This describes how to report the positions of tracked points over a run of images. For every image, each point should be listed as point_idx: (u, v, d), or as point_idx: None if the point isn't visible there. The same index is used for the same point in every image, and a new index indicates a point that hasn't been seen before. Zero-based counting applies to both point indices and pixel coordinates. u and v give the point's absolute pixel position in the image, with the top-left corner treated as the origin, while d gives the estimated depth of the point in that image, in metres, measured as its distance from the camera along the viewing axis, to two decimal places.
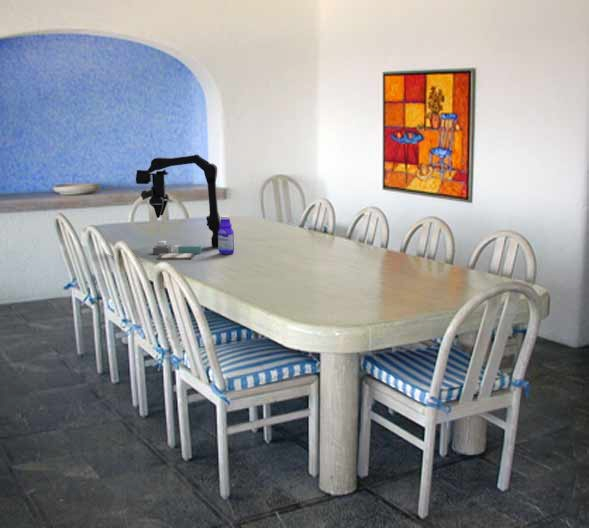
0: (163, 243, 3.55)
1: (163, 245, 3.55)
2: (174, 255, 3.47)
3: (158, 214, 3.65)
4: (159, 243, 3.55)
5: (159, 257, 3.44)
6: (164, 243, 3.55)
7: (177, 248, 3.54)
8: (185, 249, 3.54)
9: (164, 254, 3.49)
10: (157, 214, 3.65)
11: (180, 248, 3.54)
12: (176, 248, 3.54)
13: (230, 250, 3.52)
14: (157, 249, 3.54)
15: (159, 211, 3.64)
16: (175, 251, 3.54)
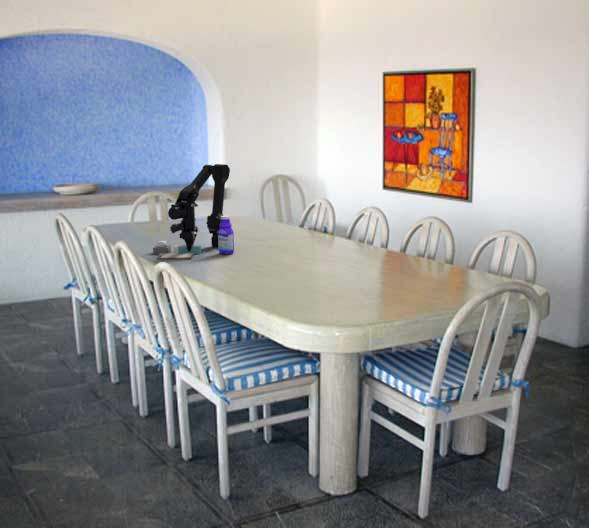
0: (163, 243, 3.55)
1: (163, 245, 3.55)
2: (174, 255, 3.47)
3: (189, 248, 3.53)
4: (159, 243, 3.55)
5: (159, 257, 3.44)
6: (164, 243, 3.55)
7: (177, 248, 3.54)
8: (185, 249, 3.54)
9: (164, 254, 3.49)
10: (188, 247, 3.53)
11: (180, 248, 3.54)
12: (176, 248, 3.54)
13: (230, 250, 3.52)
14: (157, 249, 3.54)
15: (190, 244, 3.52)
16: (175, 251, 3.54)
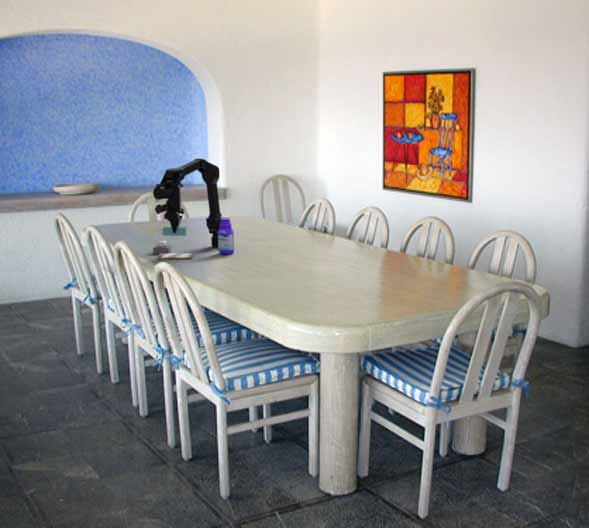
0: (163, 243, 3.55)
1: (163, 245, 3.55)
2: (174, 255, 3.47)
3: (175, 229, 3.42)
4: (159, 243, 3.55)
5: (159, 257, 3.44)
6: (164, 243, 3.55)
7: (162, 229, 3.43)
8: (170, 230, 3.43)
9: (164, 254, 3.49)
10: (173, 229, 3.42)
11: (165, 229, 3.43)
12: (161, 229, 3.43)
13: (230, 250, 3.52)
14: (157, 249, 3.54)
15: (175, 226, 3.42)
16: (160, 232, 3.44)
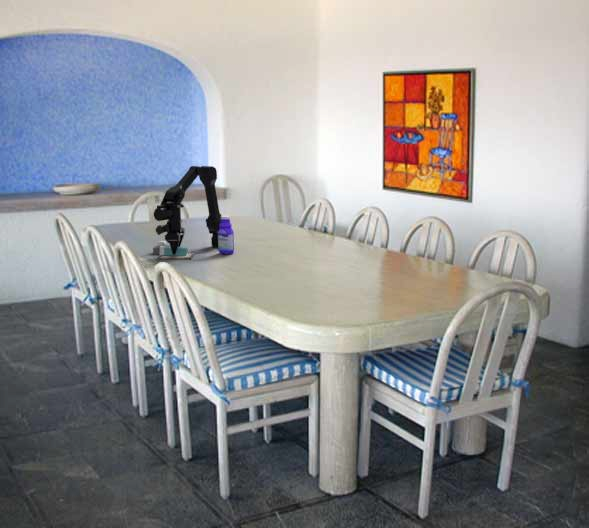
0: (163, 243, 3.55)
1: (163, 245, 3.55)
2: (174, 255, 3.47)
3: (174, 251, 3.42)
4: (159, 243, 3.55)
5: (159, 257, 3.44)
6: (164, 243, 3.55)
7: (163, 249, 3.45)
8: (171, 250, 3.45)
9: None
10: (173, 250, 3.42)
11: (166, 249, 3.45)
12: (162, 249, 3.45)
13: (230, 250, 3.52)
14: (157, 249, 3.54)
15: (175, 247, 3.41)
16: (161, 252, 3.45)
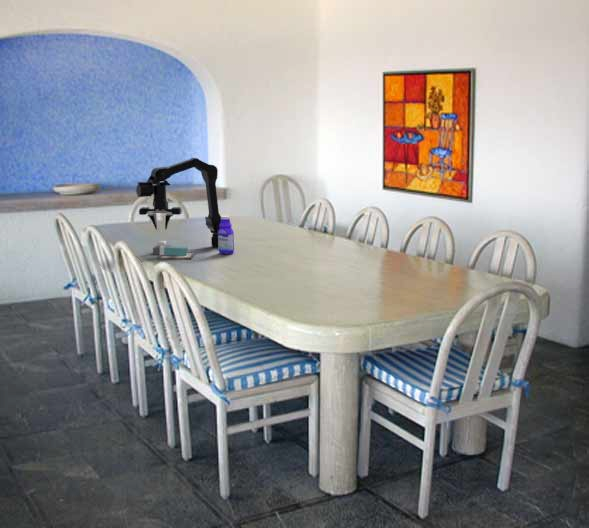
0: (163, 243, 3.55)
1: (163, 245, 3.55)
2: (174, 255, 3.47)
3: None
4: (159, 243, 3.55)
5: (159, 257, 3.44)
6: (164, 243, 3.55)
7: (163, 249, 3.45)
8: (171, 250, 3.45)
9: None
10: None
11: (166, 249, 3.45)
12: (162, 249, 3.45)
13: (230, 250, 3.52)
14: (157, 249, 3.54)
15: None
16: (161, 252, 3.45)
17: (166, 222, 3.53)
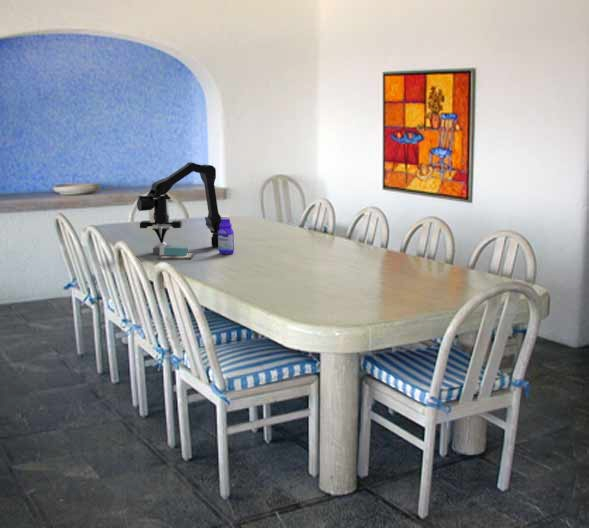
0: (163, 244, 3.55)
1: None
2: (174, 255, 3.47)
3: None
4: (159, 244, 3.55)
5: (159, 257, 3.44)
6: (164, 244, 3.55)
7: (163, 249, 3.45)
8: (171, 250, 3.45)
9: None
10: None
11: (166, 249, 3.45)
12: (162, 249, 3.45)
13: (230, 250, 3.52)
14: (157, 249, 3.54)
15: None
16: (161, 252, 3.45)
17: (162, 235, 3.54)
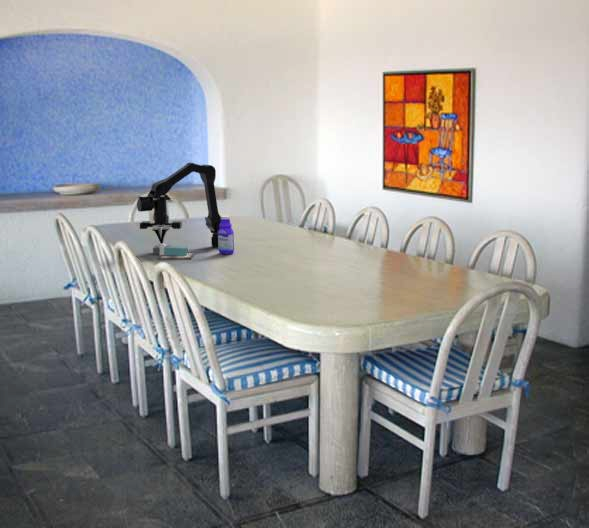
0: None
1: None
2: (174, 255, 3.47)
3: None
4: (159, 246, 3.55)
5: (159, 257, 3.44)
6: None
7: (163, 249, 3.45)
8: (171, 250, 3.45)
9: None
10: None
11: (166, 249, 3.45)
12: (162, 249, 3.45)
13: (230, 250, 3.52)
14: (157, 249, 3.54)
15: None
16: (161, 252, 3.45)
17: (162, 236, 3.54)
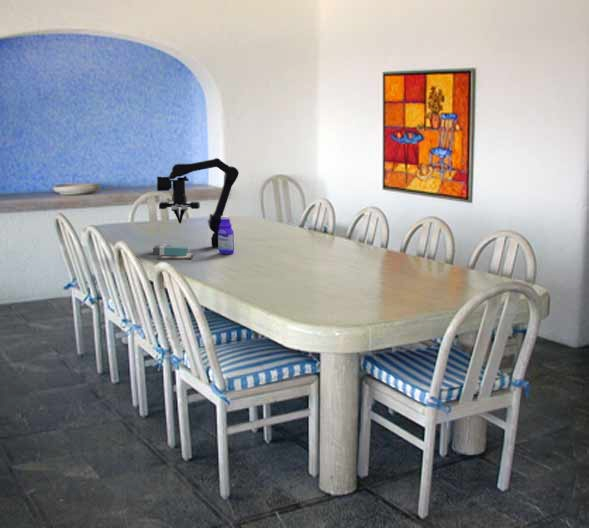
0: None
1: None
2: (174, 255, 3.47)
3: None
4: (159, 246, 3.55)
5: (159, 257, 3.44)
6: None
7: (163, 249, 3.45)
8: (171, 250, 3.45)
9: None
10: None
11: (166, 249, 3.45)
12: (162, 249, 3.45)
13: (230, 250, 3.52)
14: (157, 249, 3.54)
15: None
16: (161, 252, 3.45)
17: (181, 216, 3.64)
